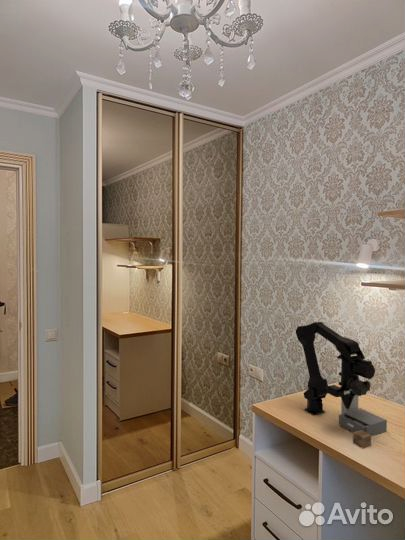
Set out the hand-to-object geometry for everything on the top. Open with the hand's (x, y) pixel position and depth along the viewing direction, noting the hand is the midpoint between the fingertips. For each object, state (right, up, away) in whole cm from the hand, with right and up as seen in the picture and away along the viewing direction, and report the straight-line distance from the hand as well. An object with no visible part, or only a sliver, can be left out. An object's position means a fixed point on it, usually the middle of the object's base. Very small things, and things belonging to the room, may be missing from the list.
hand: (347, 408), depth 154 cm
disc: (+6, -6, 0) cm, 9 cm away
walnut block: (+1, -9, -13) cm, 15 cm away
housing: (+7, -8, +1) cm, 11 cm away
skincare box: (+5, -8, +11) cm, 15 cm away
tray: (+5, -8, 0) cm, 10 cm away
